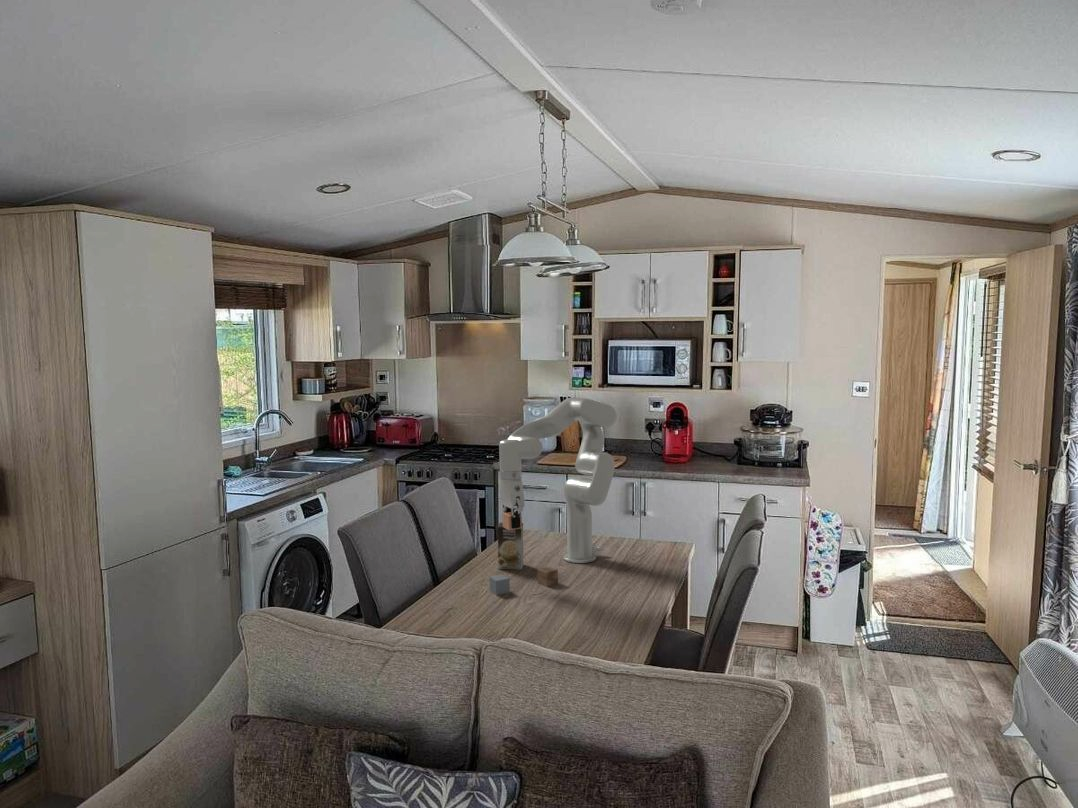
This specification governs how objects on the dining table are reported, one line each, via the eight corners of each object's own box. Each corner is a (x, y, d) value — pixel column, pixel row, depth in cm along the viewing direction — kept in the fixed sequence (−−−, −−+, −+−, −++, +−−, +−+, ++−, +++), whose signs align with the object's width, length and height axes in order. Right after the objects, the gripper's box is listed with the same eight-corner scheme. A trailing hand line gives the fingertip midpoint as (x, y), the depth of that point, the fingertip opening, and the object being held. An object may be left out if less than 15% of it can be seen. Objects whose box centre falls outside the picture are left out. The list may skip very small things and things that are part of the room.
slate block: (503, 588, 258) (502, 574, 257) (509, 592, 253) (509, 578, 253) (489, 591, 255) (489, 576, 255) (496, 595, 251) (495, 581, 250)
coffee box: (497, 569, 278) (496, 526, 276) (500, 564, 284) (499, 522, 283) (522, 569, 277) (521, 527, 275) (524, 564, 283) (523, 522, 282)
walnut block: (548, 580, 265) (548, 566, 265) (557, 583, 261) (557, 569, 261) (537, 583, 262) (537, 569, 262) (546, 586, 258) (546, 572, 258)
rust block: (515, 524, 267) (515, 511, 267) (522, 528, 263) (521, 514, 262) (502, 527, 265) (502, 513, 264) (509, 530, 260) (508, 516, 260)
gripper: (531, 477, 256) (533, 530, 258) (509, 469, 271) (511, 519, 273) (511, 480, 252) (513, 533, 254) (490, 472, 267) (492, 522, 269)
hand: (512, 525), depth 264 cm, fingers closed on rust block, 5 cm apart
